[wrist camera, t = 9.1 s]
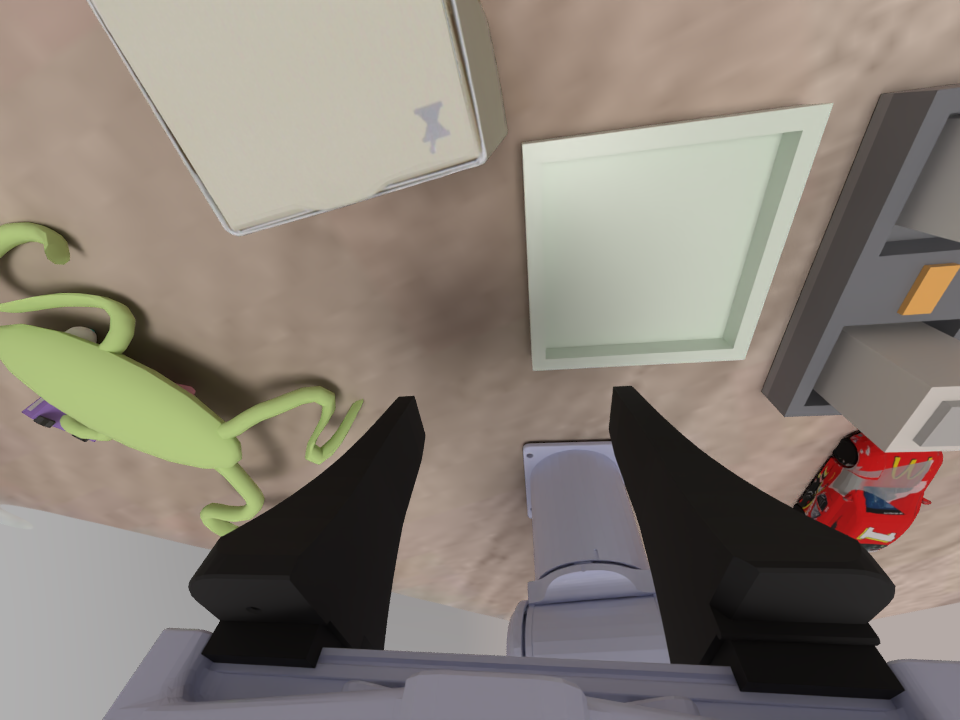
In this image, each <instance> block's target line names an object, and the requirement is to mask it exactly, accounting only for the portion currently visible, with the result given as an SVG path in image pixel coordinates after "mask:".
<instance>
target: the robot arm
mask: <svg viewBox="0 0 960 720" xmlns="http://www.w3.org/2000/svg"><path fill="white" fill-rule="evenodd" d="M609 433H610V438H611V441H599V442H564V443H529V444H526V445H524V446H523V457H524V470H525V483H526V497H527V510H528V517H529V518H531V519H532V526H533V545H534V565H535V581H530V582H528V600H524V601H520V602H519V603H518V605H517V606H516V609H515V611H514V613H513V615H512V616H511V619H510V622H509V626H508V634H507V656H495V655H474V654H453V653H432V652H410V651H388V650H384V643H385V634H386V626H387V618H388V611H389V604H390V597H391V590H392V583H393V577H394V571H395V565H396V559H397V553H398V548H399V543H400V537H401V532H402V527H403V523H404V519H405V515H406V511H407V508H408V505H409V501H410V498H411V494H412V491H413V488H414V484H415V481H416V478H417V474H418V471H419V467H420V464H421V460H422V455H423V449H424V442H425V432H424V428H423V425H422V421H421V418H420V414H419V410H418V407H417V403H416V400H415V396H405V397H398V398H397V399H396V400H395V401H394V403H393V404H392V405H391V406H390V407H389V408H388V409H387V410H386V411H385V413H384V414H383V415H382V416H381V417H380V418H379V419H378V420H377V421H376V422H375V424H374V425H373V426H372V427H371V428H370V429H369V430H368V431H367V432H366V433H365V434H364V435H363V436H362V437H361V438H360V439H359V440H358V441H357V442H356V443H355V444H354V445H353V446H352V447H351V448H350V449H349V450H348V451H347V452H346V453H345V454H344V455H343V456H341V457H340V458H339V459H338V460H337V461H336V462H335V463H334V464H332V465H331V466H330V467H329V468H327V469H326V470H325V471H324V472H323V473H321V474H320V475H319V476H318V477H316V478H315V479H314V480H312V481H311V482H309V483H308V484H307V485H305V486H304V487H303V488H301V489H300V490H298V491H297V492H296V493H294V494H293V495H291V496H290V497H288V498H287V499H285V500H284V501H282V502H281V503H279V504H278V505H276V506H275V507H273V508H271V509H270V510H268V511H266V512H265V513H263V514H261V515H260V516H258V517H256V518H255V519H253V520H251V521H249V522H247V523H246V524H244V525H242V526H240V527H238V528H237V529H235V530H233V531H231V532H229V533H227V534H226V535H224V536H222V537H220V539H219V540H218V541H217V543H216V544H215V546H214V547H213V548H212V550H211V551H210V553H209V554H208V556H207V557H206V559H205V560H204V561H203V563H202V565H201V566H200V567H199V569H198V570H197V571H196V573H195V575H194V576H193V577H192V579H191V580H190V582H189V586H188V587H189V591H190V593H191V596H192V597H194V599H195V600H196V601H197V602H199V603H200V604H201V605H202V606H203V607H205V608H206V609H207V610H208V611H209V612H211V613H212V614H213V615H214V616H215V617H217V618H218V619H219V620H220V622H219V624H218V626H217V627H216V629H215V631H214V632H213V633H212V632H209V631H205V630H200V629H180V628H167V629H165V630H163V631H162V633H161V634H160V636H159V637H158V639H157V640H156V642H155V643H154V645H153V646H152V648H151V649H150V651H149V652H148V654H147V655H146V656H145V658H144V659H143V661H142V662H141V664H140V665H139V667H138V668H137V670H136V671H135V673H134V674H133V675H132V677H131V678H130V680H129V681H128V683H127V684H126V686H125V687H124V689H123V690H122V692H121V693H120V695H119V696H118V698H117V699H116V700H115V702H114V703H113V705H112V706H111V708H110V709H109V711H108V712H107V714H106V715H105V717H104V718H103V719H102V720H960V661H941V660H940V661H939V660H917V659H901V660H894V661H890V662H887V663H886V661H885V660H884V659H883V657H882V656H881V654H880V653H879V651H878V650H877V649H876V647H875V646H877V645H879V644H880V639H879V637H878V636H877V634H876V633H875V632H874V630H873V629H872V627H871V626H870V625H869V623H868V622H869V621H870V620H871V619H873V618H874V617H875V616H876V615H877V614H878V613H879V612H880V611H882V610H883V609H884V608H885V607H886V606H887V605H888V604H889V603H890V602H891V600H892V599H893V598H894V594H895V585H894V584H893V582H892V581H891V579H890V578H889V577H888V576H887V574H886V573H885V572H884V571H883V569H882V568H881V567H880V566H879V564H878V563H877V562H876V561H875V559H874V558H873V557H872V556H871V555H870V554H869V553H868V551H867V550H866V549H865V548H864V547H863V546H862V545H861V544H860V543H859V541H858V540H856V539H854V538H852V537H850V536H848V535H846V534H844V533H842V532H840V531H838V530H835V529H833V528H831V527H829V526H827V525H825V524H823V523H821V522H819V521H817V520H815V519H813V518H810V517H808V516H807V515H805V514H803V513H801V512H799V511H797V510H795V509H793V508H792V507H790V506H788V505H786V504H784V503H782V502H780V501H779V500H777V499H775V498H773V497H772V496H770V495H768V494H766V493H765V492H763V491H761V490H760V489H758V488H756V487H755V486H753V485H752V484H750V483H748V482H747V481H745V480H743V479H742V478H740V477H739V476H737V475H736V474H734V473H733V472H731V471H730V470H728V469H727V468H725V467H724V466H722V465H721V464H720V463H718V462H717V461H715V460H714V459H713V458H711V457H710V456H708V455H707V454H706V453H704V452H703V451H702V450H700V449H699V448H698V447H697V446H695V445H694V444H693V443H692V442H691V441H689V440H688V439H687V438H686V437H685V436H683V435H682V434H681V433H680V432H679V431H678V430H677V429H676V428H674V427H673V426H672V425H671V424H670V423H669V422H668V421H667V420H666V419H665V418H664V417H663V416H661V415H660V414H659V413H658V412H657V411H656V410H655V409H654V408H653V407H652V406H651V405H650V404H649V403H648V402H647V401H646V400H645V399H644V398H643V397H642V396H641V395H640V394H639V393H638V392H637V391H636V390H635V389H634V388H633V387H632V386H619V387H613V395H612V404H611V413H610V422H609ZM529 453H530V454H529ZM624 485H625V486H626V489H627V491H628V494H629V497H630V500H631V502H632V505H633V508H634V511H635V513H636V516H637V520H638V523H639V526H640V530H641V534H642V538H643V542H644V546H645V549H646V553H647V557H648V561H647V558H646V554H645V551H644V548H643V545H642V541H641V538H640V535H639V532H638V528H637V525H636V522H635V519H634V515H633V512H632V509H631V506H630V502H629V499H628V496H627V493H626V490H625V486H624ZM648 562H649V564H648ZM649 566H650V567H649Z"/></svg>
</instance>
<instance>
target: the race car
mask: <svg viewBox="0 0 960 720" xmlns="http://www.w3.org/2000/svg"><path fill="white" fill-rule="evenodd" d="M833 452H834V456H835V458H830V459H829V461H828V462H827V464H826V465H825V466H824V468H823V469H822V471H821V472H820V473H819V475H818V476H817V478H816V479H815V480H814V482H813V483H812V485H811V486H810V487H809V489H808V490H807V492H806V493H805V494H804V496H803V497H802V499H801V500H800V501H799V503H798V504H799V505H797V504H796V505H794V508H793V509H795V510H797V511H799V512H801V513H803V514H805V515H807V516H808V517H810V518H813V519H815V520H817V521H819V522H821V523H823V524H825V525H827V526H829V527H831V528H833V529H835V530H838V531H840V532H842V533H844V534H846V535H848V536H850V537H852V538H854V539H856V540H858V541H859V543H860V544H861V545H862V546H863V547H864V548H865V549H866V550H867V551H868V552H876V551H878V550H880V549H882V548H884V547H886V546H888V545H889V544H891V543H892V542H894V541H895V540H896V539H898V538H899V537H900V536H901V535H902V534H903V533H904V532H905V531H906V530H907V529H908V528H909V527H910V525H911V524H912V522H913V521H914V519H915V518H916V516H917V514H918V512H919V510H920V506H921V503H923V504H931V501H929V500H927V499H925V498H923V495H924V491H925V490H926V488H927V487H928V485H929V484H930V482H931V481H932V479H933V478H934V476H935V474H936V473H937V471H938V469H939V468H940V466H941V465H942V462H943V454H942V451H929V452H883V451H882V450H881V449H880V448H879V447H878V446H877V445H875V444H874V443H873V442H872V441H871V440H870V439H869V438H868V437H866V436H865V435H864V434H863V433H859V434H857V435H854V436H852V437H850V439H842V440H841V441H840V443H839V445H838V446H837V448H836V449H834V450H833Z"/></svg>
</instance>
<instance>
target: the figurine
mask: <svg viewBox="0 0 960 720" xmlns="http://www.w3.org/2000/svg"><path fill="white" fill-rule="evenodd" d="M27 242H39V243H42V244H44V250H45V254H46V256H47V259H49V260H50V261H52V262H53V263H55V264H63V265H64V264H65V263H67V262H68V261H70V253H69V248H68V244H67V241H66V240H65V239H64V238H63V237H62V235H60V234H58V233H57V232H55V231H53V230H52V229H50V228H47V227H45V226H43V225H39V224H34V223H30V222H22V223H10V224H5V225H2V226H0V258H1V257H2V256H3V255H4V254H5V253H7V252H8V251H9V250H11V249H12V248H14V247H15V246H17V245H20V244H24V243H27ZM58 307H98V308H102V309H105V310H106V312H107V313H108V314H109V316H110V330H109V332H108V334H107V335H106V337H105V339H104V341H103V342H102V343H101V344H97V343H96V342H97V335H96V334H95V331H94V330H92V329H89V328H86V327H72V328H70V329H68V330H67V331H65V332H61V331H56V330H51V329H46V328H42V327H37V326H32V325H26V324H15V325H6V326H0V360H1V361H2V362H3V364H4V365H5V366H6V367H7V369H8V370H9V371H10V372H11V373H12V374H13V375H14V376H16V377H17V378H18V379H19V380H20V381H22V382H23V383H24V384H25V385H27V386H28V387H29V388H30V389H32V390H33V391H34V392H35V393H37V394H38V395H39V396H40V398H39V399H38V400H36V401H35V402H34V403H32V404H31V405H30V406H29V407H27V408H26V409H25V410H23V411H22V413H24V414H25V415H27V416H28V417H30V418H32V419H34V420H33V421H34V422H36V423H38V424H40V425H42V426H45V427H48V428H50V427H52V426H53V427H56V428H59V429H61V430H64V431H67V432H69V433H70V434H72V436H74V437H76V438H78V439H80V440H82V441H84V442H87V441H88V440H91V441H93V442H95V441H96V440H100V441H110V440H112V439H113V440H115V441H118V442H120V443H122V444H124V445H126V446H128V447H130V448H133V449H136V450H139V451H141V452H144V453H147V454H150V455H153V456H156V457H158V458H161V459H164V460H167V461H170V462H174V463H179V464H184V465H189V466H194V467H198V468H203V469H211V468H214V469H215V470H216V471H218V472H219V473H220V474H221V475H223V476H224V477H225V478H226V480H227V481H228V482H229V483H230V484H231V485H232V486H233V487H234V488H235V489H236V490H237V492H238V493H239V494H240V495H241V496H242V497H243V498H244V500H245V501H246V503H247V504H246V505H244V506H228V505H224V504H218V503H211V504H209V505H207V506H205V507H204V508H203V509H202V511H201V512H200V517H201V520H202V522H203V524H204V525H205V526H206V527H207V528H209V529H210V530H211V531H212V532H214V533H216V534H218V535H220V536H221V537H222V536H224V535H226V534H227V533H229V532H231V531H233V530H235V529H237V528H238V526H236V525H233V524H232V523H230V522H228V521H232V522H237V521H244V520H249V519H252V518H253V517H254V516H255V515H256V514H257V513H258V512H259V511H260V510H261V508H262V506H263V504H264V499H265V498H264V496H263V494H262V492H261V490H260V489H259V487H258V486H257V485H256V484H255V483H254V481H253V480H252V479H251V478H250V477H249V475H248V474H247V473H246V472H245V471H244V470H243V468H242V467H241V466H240V465H239V464H238V463H237V462H239V461H240V460H241V459H242V453H241V444H240V442H239V440H238V439H237V438H236V436H239V435H240V434H242V433H243V432H245V431H246V430H247V429H249V428H250V427H252V426H254V425H256V424H257V423H259V422H261V421H263V420H266V419H268V418H271V417H274V416H277V415H279V414H281V413H284V412H286V411H288V410H291V409H293V408H295V407H297V406H300V405H302V404H306V403H311V402H316V403H318V404H320V405H322V414H321V418H320V420H319V422H318V425H317V427H316V429H315V431H314V432H313V434H312V436H311V438H310V440H309V442H308V444H307V449H306V455H305V458H306V460H308V461H311V462H313V463H316V464H318V465H320V464H321V463H322V462H324V461H325V460H326V459H328V458H329V457H330V456H331V455H333V453H334V452H335V451H336V450H337V448H338V447H339V446H340V445H341V443H342V442H343V440H344V438H345V436H346V435H347V433H348V431H349V429H350V427H351V425H352V423H353V421H354V419H355V417H356V415H357V413H358V411H359V410H360V408H361V406H362V403H363V399H362V400H359V401H356V402H355V403H353V404H352V406H351V408H350V409H349V411H348V413H347V415H346V416H345V418H344V420H343V422H342V423H341V425H340V427H339V428H338V430H337V431H336V432H335V434H334V435H333V436H332V437H331V439H330V440H329V441H328V442H326V443H325V444H324V445H323V446H322V447H321V448H320V447H318V446H317V445H315V443H316V441H317V438H318V436H319V435H320V433H321V432H322V430H323V429H324V427H325V426H326V425H327V423H328V421H329V420H330V418H331V416H332V414H333V413H334V411H335V408H336V407H335V393H333V392H331V391H329V390H327V389H325V388H323V387H321V386H315V387H304V388H300V389H297V390H295V391H292V392H289V393H287V394H284V395H281V396H279V397H276V398H274V399H271V400H268V401H265V402H262V403H259V404H257V405H255V406H253V407H251V408H249V409H247V410H246V411H244V412H242V413H240V414H239V415H237V416H236V417H234V418H233V419H231V420H230V421H227V422H225V421H224V420H222V419H221V418H220V417H219V416H218V415H217V414H215V413H214V412H213V411H212V410H211V409H210V408H208V407H207V406H206V405H205V404H204V403H203V402H201V401H200V400H199V399H198V398H197V397H196V396H194V395H195V390H194V389H193V388H192V386H187V385H181V384H175V383H174V382H172V381H171V380H169V379H168V378H166V377H165V376H163V375H161V374H160V373H158V372H157V371H155V370H153V369H151V368H149V367H147V366H145V365H143V364H141V363H139V362H137V361H135V360H133V359H131V358H129V357H127V356H125V355H123V354H122V353H123V352H124V351H125V350H126V349H127V347H128V345H129V344H130V342H131V340H132V338H133V336H134V330H135V318H134V316H133V315H132V313H131V311H130V310H129V308H128V307H127V306H125V305H123V304H121V303H119V302H117V301H114V300H112V299H110V298H108V297H103V296H96V295H88V294H81V293H57V294H48V295H40V296H35V297H30V298H26V299H21V300H17V301H12V302H8V303H3V304H0V311H1V312H10V313H22V312H29V311H37V310H43V309H50V308H58Z"/></svg>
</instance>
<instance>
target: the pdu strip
mask: <svg viewBox="0 0 960 720" xmlns="http://www.w3.org/2000/svg"><path fill="white" fill-rule="evenodd" d="M955 114H960V84H953V85H945V86H938V87H930V88H923V89H915V90H908V91H901V92H893V93H886V94H881V96H880V99H879V101H878V104H877V106H876V109H875V111H874V114H873V116H872V119H871V121H870V124H869V126H868V128H867V131H866V133H865V136H864V138H863V141H862V143H861V146H860V148H859V151H858V153H857V156H856V158H855V161H854V163H853V166H852V168H851V171H850V173H849V176H848V178H847V181H846V183H845V186H844V188H843V191H842V193H841V196H840V198H839V201H838V203H837V205H836V208H835V210H834V213H833V215H832V218H831V220H830V223H829V225H828V228H827V230H826V233H825V235H824V238H823V240H822V243H821V245H820V248H819V250H818V253H817V255H816V258H815V260H814V263H813V265H812V268H811V270H810V273H809V275H808V278H807V280H806V282H805V285H804V287H803V290H802V292H801V295H800V297H799V300H798V302H797V305H796V307H795V310H794V312H793V315H792V317H791V320H790V322H789V325H788V327H787V330H786V332H785V335H784V337H783V340H782V342H781V345H780V347H779V350H778V352H777V355H776V357H775V359H774V362H773V364H772V367H771V369H770V372H769V374H768V377H767V379H766V382H765V384H764V387H763V389H762V393H763V394H764V395H765V396H766V397H767V398H768V400H769V401H770V402H771V403H772V404H773V405H774V406H775V407H776V408H777V409H778V410H779V412H780V413H781V414H782V415H783V416H784V417H793V416H822V415H842V414H841V413H840V412H838V411H837V410H836V409H835V408H834V407H833V406H832V405H831V404H829V403H828V402H827V401H826V400H825V399H824V398H823V397H822V396H820V395H819V394H818V393H817V392H816V391H815V390H814V389H813V387H814V385H815V383H816V381H817V379H818V377H819V375H820V373H821V371H822V369H823V367H824V365H825V363H826V361H827V359H828V357H829V355H830V353H831V351H832V349H833V347H834V345H835V343H836V341H837V339H838V337H839V335H840V333H841V331H842V329H843V327H844V326H855V325H871V324H887V323H903V322H919V321H921V322H923V323H925V324H927V325H929V326H931V327H933V328H935V329H937V330H939V331H941V332H943V333H945V334H947V335H949V336H951V337H953V338H955V339H957V340H959V341H960V242H957V241H953V240H950V239H946V238H942V237H939V236H935V235H931V234H928V233H924V232H920V231H917V230H913V229H909V228H906V227H902V226H898V225H895V223H896V221H897V219H898V217H899V215H900V213H901V211H902V209H903V207H904V205H905V203H906V201H907V199H908V197H909V195H910V193H911V191H912V189H913V187H914V185H915V183H916V181H917V179H918V177H919V175H920V173H921V171H922V169H923V167H924V165H925V163H926V161H927V159H928V157H929V155H930V153H931V151H932V149H933V147H934V145H935V143H936V141H937V139H938V137H939V135H940V133H941V131H942V129H943V127H944V125H945V123H946V121H947V119H948V117H949V115H955Z"/></svg>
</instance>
